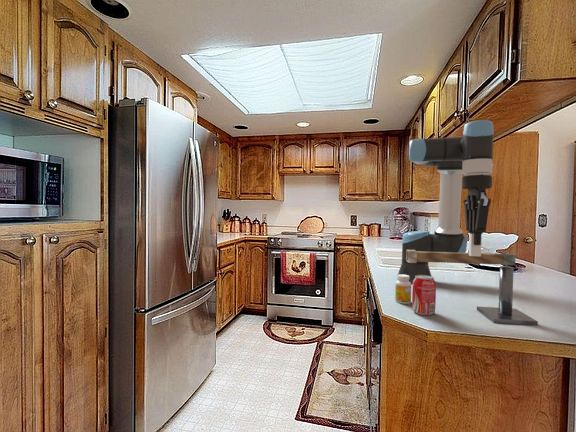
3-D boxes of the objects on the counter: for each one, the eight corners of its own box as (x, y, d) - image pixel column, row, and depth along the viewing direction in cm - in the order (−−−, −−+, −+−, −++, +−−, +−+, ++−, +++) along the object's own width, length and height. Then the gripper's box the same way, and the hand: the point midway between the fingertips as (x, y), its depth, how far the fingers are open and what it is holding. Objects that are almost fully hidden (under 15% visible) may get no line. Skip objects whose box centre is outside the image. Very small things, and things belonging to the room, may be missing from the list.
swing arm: (510, 264, 103) (511, 252, 103) (518, 266, 99) (518, 254, 99) (406, 260, 108) (406, 249, 108) (408, 262, 104) (409, 251, 104)
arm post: (476, 309, 109) (478, 263, 108) (515, 312, 107) (517, 264, 106) (493, 322, 97) (495, 270, 96) (537, 325, 95) (539, 271, 94)
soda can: (415, 308, 110) (416, 273, 110) (437, 312, 106) (438, 276, 105) (408, 313, 105) (409, 276, 104) (431, 318, 100) (432, 280, 100)
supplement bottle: (392, 300, 119) (392, 274, 118) (403, 299, 121) (404, 273, 120) (402, 304, 114) (402, 277, 113) (414, 303, 116) (414, 276, 115)
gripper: (502, 172, 86) (499, 259, 87) (481, 177, 99) (479, 253, 100) (472, 172, 88) (470, 258, 88) (455, 177, 100) (453, 252, 101)
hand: (474, 255), depth 94 cm, fingers closed
